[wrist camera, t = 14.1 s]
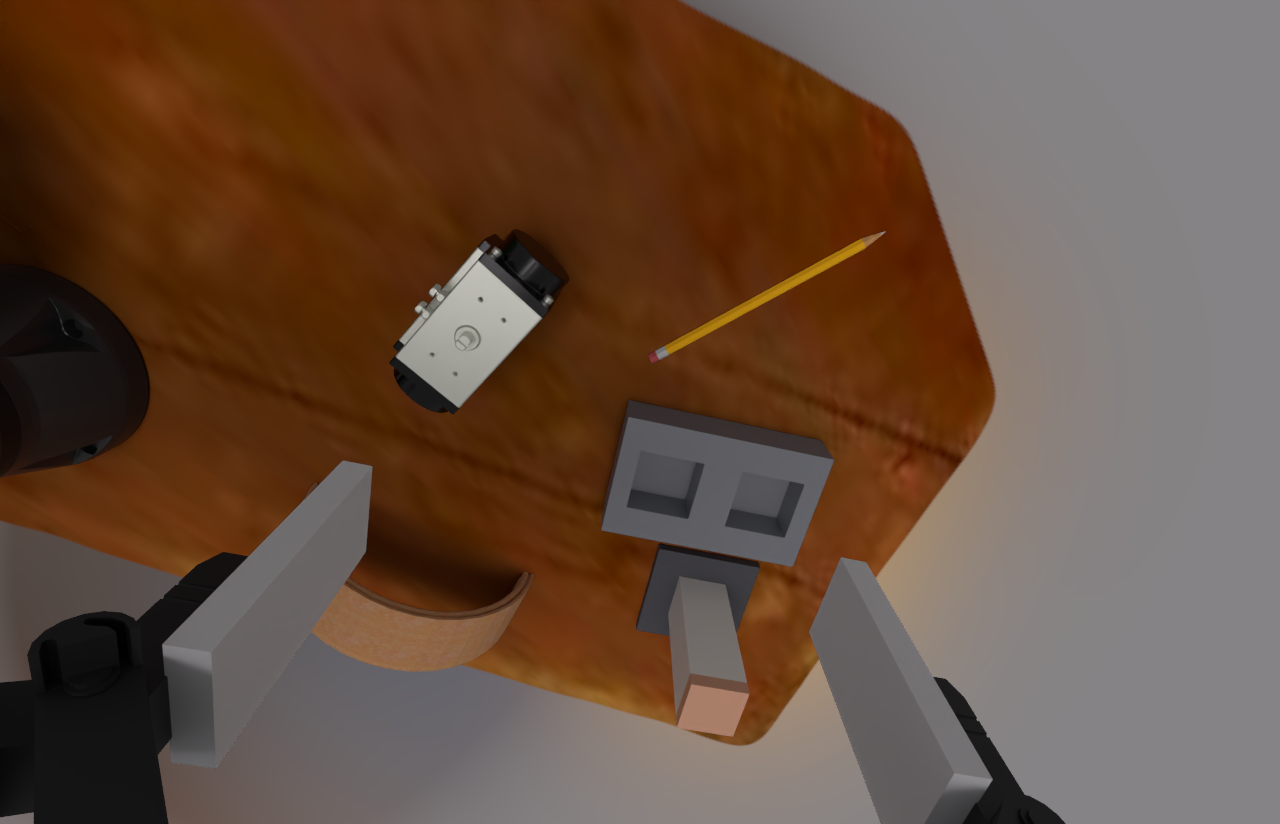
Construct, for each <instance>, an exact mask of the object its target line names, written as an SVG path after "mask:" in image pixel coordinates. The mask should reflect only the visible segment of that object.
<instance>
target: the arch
mask: <svg viewBox="0 0 1280 824" xmlns="http://www.w3.org/2000/svg"><path fill="white" fill-rule="evenodd" d="M317 486H318V483H316V482H315V483H314V484H313V485H312V486H311V487H310V489H309V491H308V492H307V494H306V496H305V497H304V500H305V499H306V498H307V497H308V496H309V495H310V494H311V492H312V491H313V490H314V489H315V488H316V487H317ZM304 500H303V501H304ZM528 575H529V574H528V572H523V573H522V576H521V577H519V579H518V581H517V583H516V585H515V586H514V588H513V590H512V592H511V593H509V594H508V595H507V596H506V597H504V598H503V599H502V600H500V601H498V602H495V603H493V604H491V605H489V606H486V607H482V608H479V609H475V610H468V611H459V612H445V611H432V610H425V609H419V608H414V607H411V606H407V605H404V604H400V603H397V602H394V601H392V600H389V599H387V598H385V597H382V596H380V595H378V594H375V593H373V592H372V591H370V590H368V589H367V588H365V587H363V586H362V585H360V584H358V583H357V582H355V581H354V580H353V579H352V578H350V577H348V579H347V580H346V581H345V583H344V584H343V586H342V587H341V589H340V590H339V592H338V593H337V594H336V596H335V597H334V599H333V600H332V602H331V603H330V605H329V606H328V607H327V609H326V610H325V612H324V613H323V615H322V616H321V618H320V619H319V620H318V622H317V623H316V625H315V626H314V628H313V629H312V631H311V632H312V633H314V634H315V635H316V636H317V637H318V638H320V639H321V640H322V641H323V642H324V643H326V644H328V645H329V646H331V647H333V648H334V649H336V650H338V651H339V652H341V653H343V654H345V655H348V656H350V657H352V658H355V659H357V660H359V661H362V662H364V663H367V664H371V665H375V666H379V667H383V668H387V669H394V670H403V671H411V672H412V671H435V670H441V669H446V668H452V667H455V666H458V665H461V664H463V663H466V662H469V661H471V660H473V659H475V658H476V657H478V656H480V655H482V654H483V653H485V652H486V651H487V650H488V649H490V648H491V647H492V646H493V645H494V644H495V643H496V642H497V641H498V640H499V638H500V637H501V635H502V634H503V633H504V631H505V630H506V628H507V626H508V624H509V623H510V621H511V619H512V617H513V616H514V614H515V612H516V610H517V608H518V607H519V605H520V603H521V601H522V600H523V598H524V596H525V594H526V593H527V591H528V589H529V587H530V586H531V583H532V580H533V577H534V574H531V575H529V576H528Z"/></svg>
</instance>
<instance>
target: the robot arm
mask: <svg viewBox="0 0 1280 824" xmlns="http://www.w3.org/2000/svg"><path fill="white" fill-rule="evenodd" d="M147 402H148V381H147V375H146V371H145V367H144V364H143V361H142V358H141V356H140V354H139V352H138V350H137V348H136V346H135V344H134V342H133V340H132V339H131V337H130V336H129V334H128V333H127V331H126V330H125V328H124V327H123V326H122V325H121V323H120V322H119V321H118V320H117V319H116V318H115V316H114V315H113V314H112V313H111V312H110V311H109V310H108V309H107V308H106V307H105V306H103V305H102V304H101V303H100V302H99V301H98V300H96V299H95V298H94V297H93V296H91V295H90V294H89V293H87V292H86V291H84V290H83V289H81V288H80V287H78V286H76V285H75V284H73V283H71V282H69V281H67V280H65V279H63V278H61V277H59V276H56V275H54V274H51V273H49V272H46V271H43V270H40V269H36V268H32V267H27V266H21V265H9V264H2V265H0V477H5V476H11V475H17V474H22V473H28V472H34V471H40V470H45V469H51V468H57V467H62V466H68V465H74V464H78V463H82V462H84V461H87V460H90V459H93V458H95V457H97V456H99V455H101V454H103V453H105V452H106V451H108V450H110V449H112V448H114V447H116V446H118V445H119V444H121V443H122V442H124V441H125V440H127V439H128V438H129V437H130V436H131V435H132V434H133V433H134V432H135V431H136V429H137V428H138V426H139V425H140V423H141V421H142V419H143V417H144V414H145V412H146V408H147ZM371 479H372V466H369V465H363V464H358V463H353V462H348V461H342V462H341V463H340V464H339V465H338V466H337V467H336V468H335V469H334V470H333V471H332V472H331V473H330V474H329V475H328V476H327V477H326V478H325V479H324V480H323V481H322V482H321V483H320V484H319V485H318V486H317V487H316V488H315V489H314V490H313V491H312V492H311V494H310V495H309V496H308V497H307V498H306V499H305V500H304V501H303V502H302V503H301V504H300V505H299V506H298V507H297V508H296V509H295V510H294V511H293V512H292V513H291V514H290V515H289V516H288V517H287V518H286V519H285V520H284V521H283V522H282V523H281V524H280V525H279V526H278V527H277V528H276V529H275V530H274V531H273V532H272V533H271V534H270V535H269V536H268V537H267V538H266V539H265V540H264V541H263V542H262V543H261V544H260V545H259V546H258V547H257V548H256V549H255V550H254V552H253V553H252V554H251V555H250V556H249V557H248V556H243V555H237V554H231V553H226V552H222V553H220V554H218V555H216V556H214V557H212V558H210V559H208V560H206V561H204V562H202V563H200V564H198V565H197V566H196V567H195V568H194V569H192V570H191V571H190V572H189V573H188V574H187V575H186V576H185V577H184V578H183V579H182V580H181V581H179V584H178V585H175V586H174V587H173V588H172V589H171V590H170V591H169V592H168V593H166V594H165V595H164V598H163V599H160V600H159V601H158V602H157V603H155V604H154V605H153V606H152V607H151V608H150V609H149V610H148V611H147V612H146V613H145V614H144V615H142V616H141V617H140V618H139V619H138V620H137V621H135V619H134V618H132V617H130V616H128V615H126V614H123V613H119V612H106V611H103V612H95V613H88V614H83V615H80V616H76V617H73V618H70V619H67V620H64V621H62V622H60V623H58V624H56V625H55V626H53V627H51V628H49V629H47V630H46V631H44V632H43V633H42V634H41V635H40V636H39V637H38V638H37V639H36V640H35V641H34V642H32V644H31V647H30V650H29V652H28V655H27V656H28V661H29V666H30V672H31V677H32V680H26V681H15V682H3V683H0V817H4V816H12V815H18V814H25V813H31V812H34V824H168V818H167V813H166V806H165V799H164V794H163V787H162V781H161V774H160V768H159V762H158V756H157V755H158V754H159V752H160V751H161V750H162V749H163V748H164V746H165V745H166V744H167V743H168V742H169V740H170V750H171V762H174V763H180V764H187V765H194V766H201V767H208V768H214V769H215V768H217V766H218V765H219V763H220V762H221V761H222V759H223V758H224V756H225V755H226V753H227V752H228V750H229V749H230V748H231V746H232V745H233V743H234V742H235V740H236V739H237V738H238V736H239V735H240V733H241V732H242V730H243V729H244V727H245V726H246V725H247V723H248V722H249V720H250V719H251V717H252V716H253V714H254V713H255V711H256V710H257V709H258V707H259V706H260V704H261V703H262V701H263V700H264V698H265V697H266V695H267V694H268V693H269V691H270V690H271V688H272V687H273V685H274V684H275V683H276V681H277V680H278V678H279V677H280V675H281V674H282V672H283V671H284V670H285V668H286V667H287V665H288V664H289V662H290V661H291V659H292V658H293V657H294V655H295V654H296V652H297V651H298V649H299V648H300V646H301V645H302V643H303V642H304V641H305V639H306V638H307V636H308V635H309V633H310V632H311V631H312V629H313V628H314V626H315V625H316V623H317V622H318V620H319V619H320V618H321V616H322V615H323V613H324V612H325V610H326V609H327V607H328V606H329V605H330V603H331V602H332V600H333V599H334V597H335V596H336V594H337V593H338V592H339V590H340V589H341V587H342V586H343V584H344V583H345V581H346V580H347V579H348V577H349V576H350V574H351V573H352V571H353V570H354V568H355V567H356V565H357V564H358V563H359V561H360V560H361V558H362V557H363V555H364V554H365V552H366V545H367V532H368V519H369V505H370V492H371ZM809 633H810V636H811V638H812V641H813V644H814V646H815V649H816V652H817V654H818V657H819V660H820V662H821V665H822V668H823V670H824V673H825V676H826V678H827V681H828V684H829V686H830V689H831V692H832V694H833V697H834V700H835V702H836V705H837V708H838V710H839V713H840V716H841V719H842V721H843V724H844V726H845V729H846V732H847V735H848V737H849V740H850V742H851V745H852V748H853V751H854V753H855V756H856V759H857V761H858V764H859V767H860V769H861V772H862V775H863V777H864V780H865V783H866V785H867V788H868V791H869V793H870V796H871V798H872V801H873V804H874V806H875V809H876V812H877V815H878V817H879V820H880V823H881V824H1065V823H1064V821H1063V820H1062V819H1061V818H1060V817H1059V816H1058V815H1057V814H1056V813H1055V812H1053V811H1052V810H1051V809H1050V808H1048V807H1047V806H1046V805H1045V804H1043V803H1041V802H1039V801H1037V800H1035V799H1034V798H1032V797H1030V796H1026V795H1024V793H1023V792H1022V790H1021V788H1020V787H1019V785H1018V783H1017V782H1016V780H1015V778H1014V777H1013V775H1012V774H1011V772H1010V771H1009V769H1008V767H1007V766H1006V764H1005V762H1004V761H1003V759H1002V758H1001V756H1000V755H999V753H998V751H997V750H996V748H995V746H994V745H993V743H992V742H991V740H990V738H988V737H987V736H986V734H987V733H986V732H985V730H984V729H983V727H982V725H981V724H980V722H979V721H977V720H976V718H977V717H976V716H975V714H974V712H973V711H972V709H971V708H970V706H969V704H968V703H967V701H966V699H965V698H964V697H963V696H962V695H961V694H960V693H959V692H958V691H957V690H956V689H955V688H954V687H953V686H952V685H951V684H950V683H949V682H948V681H947V680H946V679H943V678H937V677H933V676H932V674H931V673H930V671H929V669H928V667H927V666H926V665H925V662H924V661H923V659H922V657H921V656H920V654H919V652H918V650H917V649H916V647H915V645H914V643H913V642H912V640H911V638H910V637H909V635H908V633H907V631H906V630H905V628H904V626H903V625H902V623H901V621H900V620H899V618H898V616H897V614H896V613H895V611H894V609H893V608H892V606H891V604H890V603H889V601H888V599H887V597H886V595H885V594H884V592H883V590H882V589H881V587H880V585H879V583H878V582H877V580H876V578H875V577H874V575H873V573H872V571H871V570H870V568H869V566H868V565H867V563H866V562H862V561H857V560H852V559H846V558H840V561H839V563H838V565H837V568H836V570H835V572H834V575H833V577H832V580H831V582H830V584H829V587H828V589H827V591H826V594H825V596H824V598H823V601H822V603H821V606H820V608H819V610H818V613H817V615H816V617H815V620H814V622H813V624H812V627H811V629H810V632H809Z"/></svg>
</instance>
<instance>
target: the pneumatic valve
mask: <svg viewBox="0 0 1280 824" xmlns="http://www.w3.org/2000/svg"><path fill="white" fill-rule="evenodd" d="M568 282H569V277H568V275H567V273H566V271H565V270H564V269H563V267H562V266H561V265H560V264H559V262H558V261H557V260H556V259H555V258H554V257H553V256H552V255H551V254H550V253H549V252H548V251H547V250H546V249H545V248H544V247H543V246H541V245H540V244H539V243H538V242H537V241H535V240H534V239H533V238H532V237H530V236H529V235H527V234H526V233H524V232H522V231H520V230H517V229H514V230H512V231H511V233H510V234H509V235H508V236H507V237H506V238H505V240H504V241H503V240H501V239H500V238H499V237H498V236H497V235H496V234H494V235H492V236H490V237H488V238H486V239H484V240H483V241H482V242H481V244H480V245H479V246H478V247H477V248H476V249H475V251H474V252H473V253H472V254H471V255H470V256H469V258H468V259H467V260H466V261H465V262H464V264H463V265H462V266H461V267H460V268H459V269H458V271H457V272H456V273H455V274H454V275H453V276H452V278H451V279H450V280H449V281H448V282H447V284H446V285H445V286H444V287H443V288H442V287H441V286H440V285H439V284H436V285H435V286H434V287H433V288H432V289H431V290H430V291H429V295H430V296H431V297H434V296H435V295H436V296H435V298H434V299H433V300H432V301H431V302H430V304H429V305H428V306H427V303H426V302H424V301H421V302H420V303H419V304H418V305H417V307H416V308H415V309H414V311H415V312H416V313H417V314H419V313H420V312H422V313H421V314H420V315H419V316H418V318H417V319H416V320H415V321H414V322H413V323H412V325H411V326H410V327H409V328H408V329H407V331H406V332H405V333H404V334H403V335H402V336H401V338H400V339H399V340H398V341H397V342H396V343H395V345H394V346H393V347H394V348H395V349H396V350H397V351H398V353H397V354H396V356H395V357H394V358H393V359H392V360H391V361H390V363H389V364H390V365H392V366H393V367H394V377H395V379H396V381H397V383H398V385H399V386H400V388H401V389H402V390H403V391H404V392H405V394H406V395H407V396H409V397H410V398H411V399H412V400H413V401H415V402H416V403H417V404H419V405H421V406H422V407H424V408H426V409H428V410H431V411H434V412H439V413H445V412H448V411H449V412H450V413H451V414H454V413H455V412H456V411H457V410H458V409H459V408H460V407H461V406H462V405H463V404H464V402H465V401H466V400H467V399H468V398H469V397H470V396H471V395H472V394H473V393H474V392H475V391H476V390H477V388H478V387H479V386H480V385H481V384H482V383H483V382H484V381H485V380H486V379H487V378H488V377H489V376H490V374H491V373H492V372H493V371H494V370H495V369H496V368H497V367H498V366H499V365H500V364H501V363H502V362H503V360H504V359H505V358H506V357H507V356H508V355H509V354H510V353H511V352H512V351H513V350H514V349H515V347H516V346H517V345H518V344H519V343H520V342H521V341H522V340H523V339H524V338H525V337H526V336H527V335H528V333H529V332H530V331H531V330H532V329H533V328H534V327H535V326H536V325H537V324H538V323H539V322H540V321H541V319H542V318H543V317H544V316H545V315H546V314H547V313H548V312H549V311H550V309H551V307H552V306H553V304H554V302H555V301H556V299H557V297H558V295H559V294H560V292H561V290H562V289H563V288H564V286H565V285H566V284H567V283H568ZM441 288H442V289H441ZM440 289H441V291H440ZM426 306H427V307H426ZM425 307H426V308H425Z"/></svg>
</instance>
